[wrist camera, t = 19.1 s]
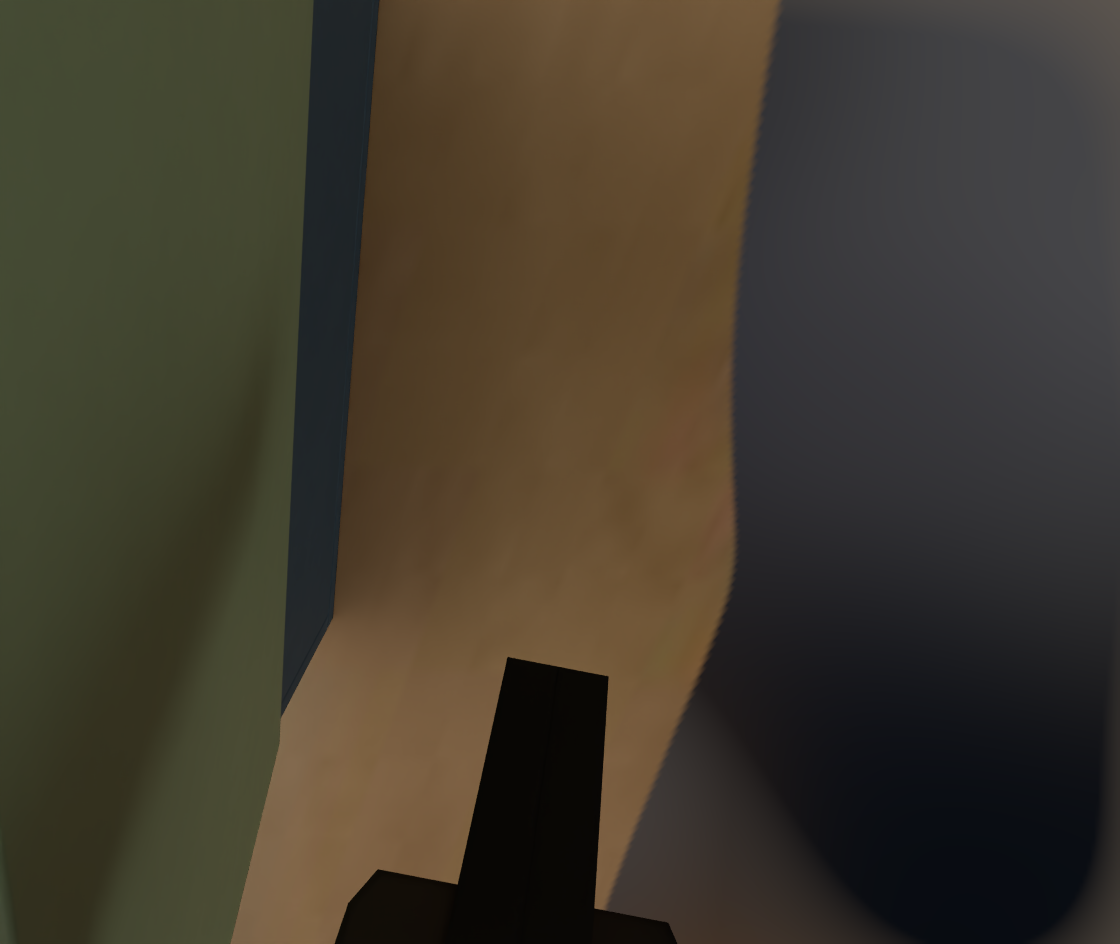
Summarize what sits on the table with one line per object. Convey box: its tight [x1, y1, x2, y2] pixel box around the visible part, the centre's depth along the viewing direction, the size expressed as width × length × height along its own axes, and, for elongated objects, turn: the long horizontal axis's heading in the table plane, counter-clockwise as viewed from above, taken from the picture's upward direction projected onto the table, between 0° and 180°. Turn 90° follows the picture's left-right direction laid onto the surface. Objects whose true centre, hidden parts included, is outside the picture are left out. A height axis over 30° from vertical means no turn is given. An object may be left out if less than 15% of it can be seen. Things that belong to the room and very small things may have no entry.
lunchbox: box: [281, 0, 379, 717], centre depth 24 cm, size 14×20×6 cm
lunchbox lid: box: [0, 0, 314, 944], centre depth 15 cm, size 15×20×1 cm
